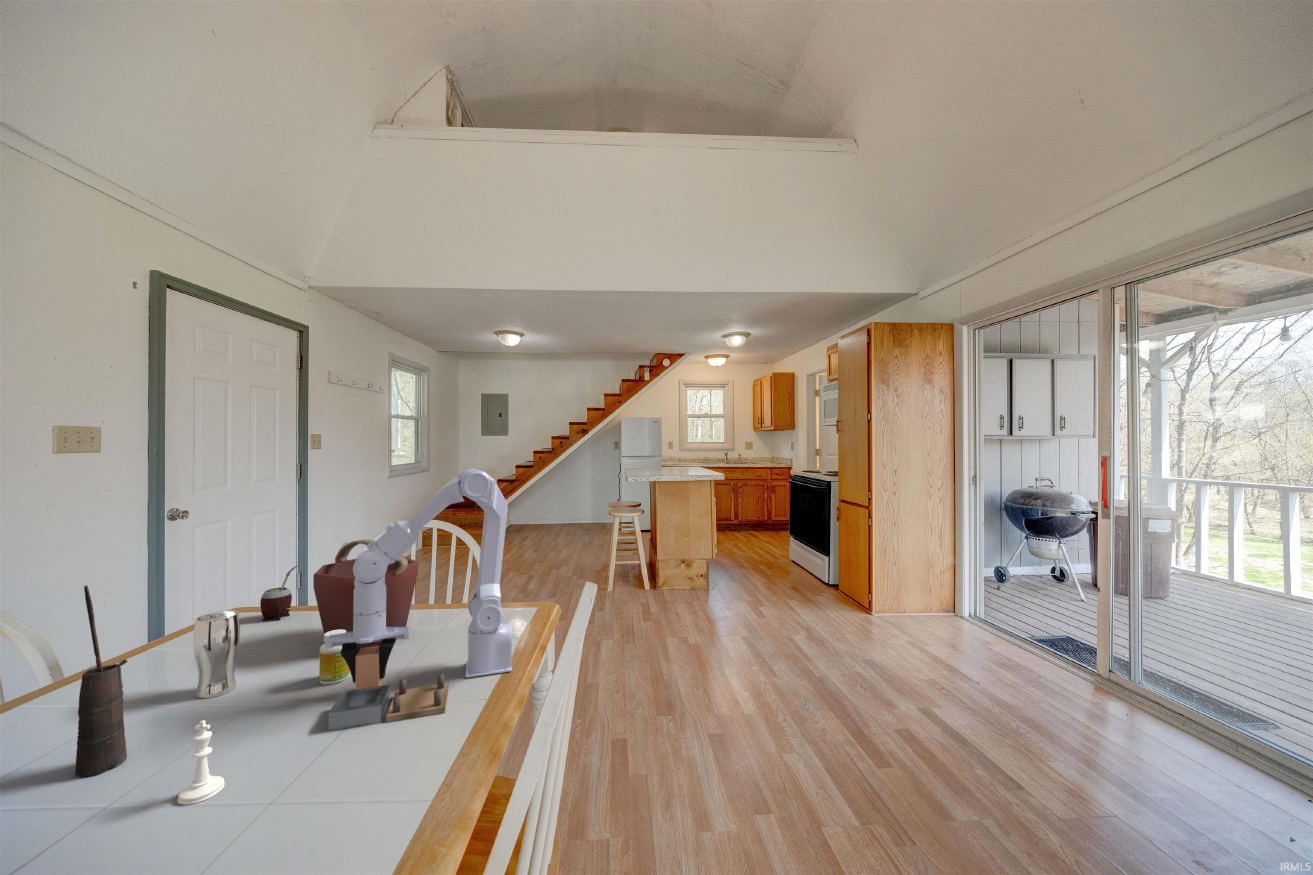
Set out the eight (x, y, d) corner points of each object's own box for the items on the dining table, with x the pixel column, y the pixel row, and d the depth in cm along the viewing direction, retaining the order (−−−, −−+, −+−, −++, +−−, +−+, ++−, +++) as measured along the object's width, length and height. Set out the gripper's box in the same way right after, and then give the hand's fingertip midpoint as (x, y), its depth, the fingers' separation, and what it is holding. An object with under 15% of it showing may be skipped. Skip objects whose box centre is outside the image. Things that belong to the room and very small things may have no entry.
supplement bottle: (334, 686, 100) (335, 638, 100) (312, 683, 101) (313, 636, 102) (355, 674, 106) (356, 628, 106) (334, 671, 107) (335, 627, 107)
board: (448, 688, 99) (448, 670, 100) (444, 712, 90) (445, 693, 90) (395, 696, 96) (395, 678, 96) (386, 722, 87) (386, 702, 87)
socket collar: (389, 700, 95) (389, 684, 95) (380, 722, 87) (381, 705, 87) (341, 707, 92) (341, 691, 92) (328, 730, 85) (328, 713, 85)
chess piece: (197, 781, 72) (198, 712, 72) (233, 779, 72) (234, 710, 72) (167, 805, 67) (168, 731, 67) (205, 803, 67) (207, 730, 68)
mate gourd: (257, 618, 140) (258, 565, 140) (291, 611, 146) (291, 560, 146) (264, 624, 135) (264, 569, 135) (298, 616, 141) (299, 564, 141)
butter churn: (149, 736, 83) (152, 570, 83) (156, 759, 77) (159, 580, 77) (64, 763, 76) (68, 581, 76) (65, 791, 70) (68, 593, 70)
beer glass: (246, 686, 100) (247, 612, 100) (203, 702, 94) (204, 623, 94) (227, 679, 103) (229, 607, 103) (185, 694, 97) (186, 618, 97)
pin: (382, 684, 101) (382, 645, 101) (378, 693, 97) (378, 653, 97) (360, 687, 100) (360, 648, 100) (355, 697, 96) (355, 656, 96)
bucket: (429, 639, 125) (430, 540, 125) (328, 668, 108) (330, 555, 109) (392, 616, 141) (392, 529, 141) (299, 639, 124) (300, 540, 125)
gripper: (321, 621, 93) (320, 693, 92) (407, 612, 97) (406, 681, 97) (332, 609, 99) (331, 677, 99) (412, 602, 104) (411, 666, 104)
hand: (369, 678), depth 99 cm, fingers closed on pin, 4 cm apart
